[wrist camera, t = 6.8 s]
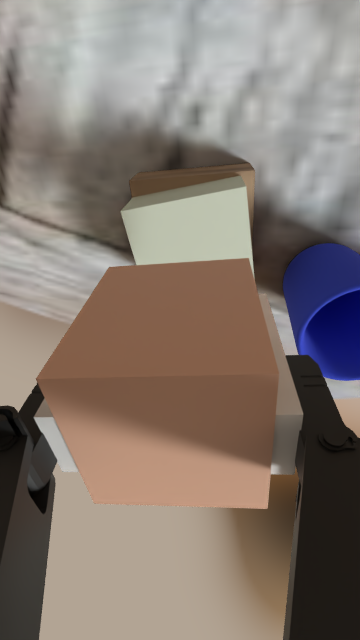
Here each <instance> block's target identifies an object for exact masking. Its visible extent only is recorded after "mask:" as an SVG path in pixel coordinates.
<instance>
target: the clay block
mask: <svg viewBox="0 0 360 640" xmlns="http://www.w3.org/2000/svg"><path fill="white" fill-rule="evenodd" d="M36 380H37V383H38V385H39V387H40V389H41V391H42V393H43V395H44V397H45V400H46V402H47V404H48V406H49V408H50V410H51V412H52V414H53V417H54V419H55V421H56V423H57V425H58V427H59V429H60V432H61V434H62V436H63V438H64V440H65V442H66V444H67V446H68V449H69V451H70V453H71V455H72V457H73V459H74V461H75V463H76V466H77V468H78V470H79V472H80V474H81V476H82V478H83V480H84V483H85V485H86V487H87V489H88V491H89V493H90V495H91V497H92V500H93V502H94V503H95V504H126V505H159V506H160V505H161V506H194V507H196V506H197V507H228V508H229V507H230V508H262V509H263V508H265V509H267V508H268V497H269V486H270V474H271V463H272V451H273V440H274V428H275V416H276V405H277V393H278V382H279V371H278V367H277V364H276V360H275V356H274V352H273V348H272V345H271V341H270V337H269V333H268V329H267V326H266V322H265V318H264V314H263V310H262V307H261V303H260V299H259V295H258V291H257V288H256V284H255V280H254V276H253V272H252V269H251V265H250V261H249V258H240V259H224V260H209V261H194V262H179V263H164V264H148V265H133V266H118V267H109V268H108V270H107V271H106V273H105V274H104V276H103V277H102V279H101V280H100V282H99V283H98V285H97V286H96V288H95V289H94V291H93V293H92V294H91V296H90V297H89V299H88V300H87V302H86V303H85V305H84V306H83V308H82V309H81V311H80V312H79V314H78V315H77V317H76V318H75V320H74V322H73V323H72V325H71V326H70V328H69V329H68V331H67V332H66V334H65V335H64V337H63V338H62V340H61V341H60V343H59V345H58V346H57V348H56V349H55V351H54V352H53V354H52V355H51V357H50V358H49V360H48V361H47V363H46V364H45V366H44V368H43V369H42V370H41V372H40V374H39V375H38V377H37V378H36Z"/></svg>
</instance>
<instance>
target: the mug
mask: <svg viewBox="0 0 360 640" xmlns="http://www.w3.org/2000/svg"><path fill="white" fill-rule="evenodd" d="M283 291H284V296H285V300H286V305H287V309H288V313H289V317H290V322H291V326H292V330H293V334H294V339H295V343H296V347H297V351H298V354H299V355H309V356H310V357H311V358H312V359H313V360H314V361H315V362H316V363H318V365H319V367H320V369H321V372H322V374H323V377H326V378H330V379H335V380H344V381H349V380H360V255H359V254H358V253H357V252H355V251H354V250H352V249H350V248H348V247H346V246H343V245H340V244H334V243H324V244H318V245H315V246H312V247H309V248H307V249H305V250H304V251H302V252H301V253H299V254H298V255H297V256H296V257H295V258H294V259H293V260H292V261H291V263H290V264H289V266H288V267H287V269H286V272H285V275H284V279H283Z"/></svg>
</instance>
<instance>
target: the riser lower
mask: <svg viewBox="0 0 360 640" xmlns="http://www.w3.org/2000/svg"><path fill="white" fill-rule="evenodd" d="M240 175H241V177H242V179H243V181H244V183H245V185H246V189H247V200H248V212H249V223H250V234H251V245H252V239H253V211H254V183H255V170H254V168H253V167H252V166H251V164H250V163H242V164H231V165H219V166H208V167H196V168H185V169H173V170H162V171H151V172H139V173H137V174H136V175H135V176H134V177H133V178H132V179H131V180H130V181H129V184H130V190H131V196H132V198H133V197H137V196H142V195H147V194H152V193H157V192H162V191H166V190H171V189H176V188H181V187H186V186H191V185H196V184H201V183H206V182H210V181H215V180H220V179H225V178H230V177H235V176H240Z"/></svg>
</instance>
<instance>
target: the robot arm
mask: <svg viewBox="0 0 360 640" xmlns="http://www.w3.org/2000/svg"><path fill="white" fill-rule="evenodd" d="M258 295H259V299H260V303H261V307H262V310H263V314H264V318H265V322H266V326H267V329H268V333H269V337H270V341H271V345H272V348H273V352H274V356H275V360H276V364H277V367H278V371H279V382H278V393H277V405H276V416H275V428H274V440H273V451H272V463H271V474H294V473H295V467H296V468H297V472H298V476H299V484H298V491H297V496H296V512H295V523H294V533H293V544H292V553H291V564H290V573H289V584H288V594H287V605H286V615H285V625H284V636H283V640H360V438H358V437H357V436H356V435H355V433H354V432H353V431H352V430H350V429H349V428H348V427H346V426H345V424H344V423H343V421H342V418H341V416H340V414H339V411H338V409H337V407H336V404H335V402H334V400H333V397H332V395H331V393H330V390H329V388H328V387H327V383H326V381H325V379H324V377H323V374H322V372H321V369H320V367H319V365H318V363H316V362H315V361H314V360H313V359H312V358H311V357H310V356H309V355H286V356H285V353H284V350H283V347H282V343H281V340H280V337H279V334H278V330H277V327H276V324H275V321H274V317H273V314H272V311H271V308H270V304H269V301H268V298H267V295H266V294H258ZM56 463H58V464H59V466H60V468H61V470H62V472H79V470H78V468H77V466H76V463H75V461H74V459H73V457H72V455H71V453H70V451H69V449H68V446H67V444H66V442H65V440H64V438H63V436H62V434H61V432H60V429H59V427H58V425H57V423H56V421H55V419H54V417H53V414H52V412H51V410H50V408H49V406H48V404H47V402H46V400H45V397H44V395H43V393H42V391H41V389H40V387H39V385H38V383H37V385H36V386H35V387H34V389H33V390H32V394H30V395H29V397H28V398H27V400H26V401H25V403H24V404H23V406H22V408H21V409H20V411H19V412H17V410H16V409H15V408H14V407H11V406H0V640H39V632H40V623H41V614H42V604H43V595H44V586H45V577H46V567H47V558H48V557H47V556H48V549H49V539H50V529H51V519H52V511H53V502H54V493H55V478H54V476H53V474H52V472H53V470H54V468H55V465H56Z"/></svg>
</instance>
